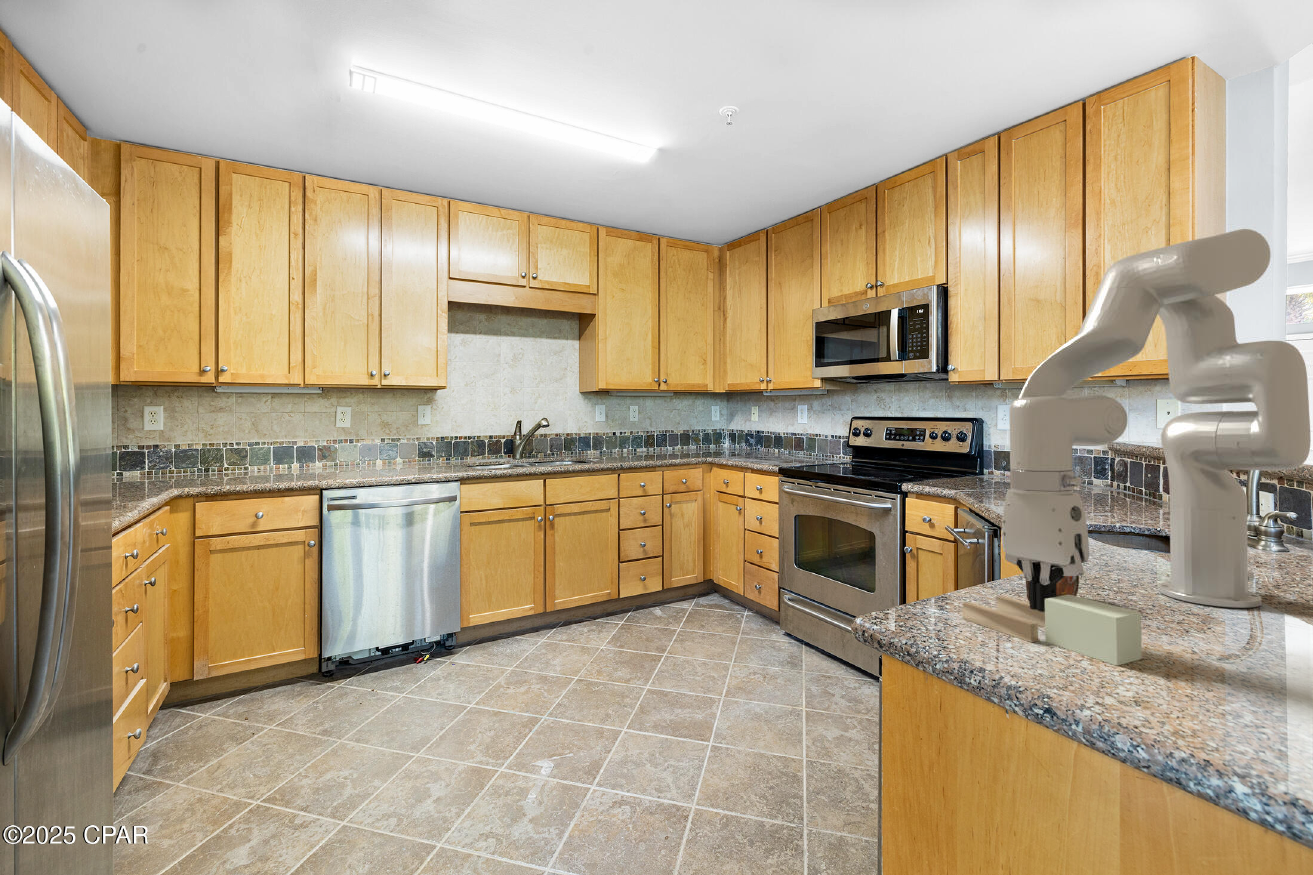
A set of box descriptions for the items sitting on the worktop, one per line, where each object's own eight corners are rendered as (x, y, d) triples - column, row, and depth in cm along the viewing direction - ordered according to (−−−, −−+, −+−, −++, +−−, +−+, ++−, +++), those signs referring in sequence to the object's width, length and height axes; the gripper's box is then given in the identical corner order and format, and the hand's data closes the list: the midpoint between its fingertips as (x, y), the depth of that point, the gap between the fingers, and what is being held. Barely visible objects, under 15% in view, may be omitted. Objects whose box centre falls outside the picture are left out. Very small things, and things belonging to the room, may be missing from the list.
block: (1069, 636, 82) (1068, 594, 82) (1141, 658, 74) (1141, 612, 74) (1045, 641, 80) (1044, 598, 80) (1116, 665, 72) (1116, 617, 72)
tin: (1043, 616, 91) (1042, 563, 91) (1021, 611, 94) (1020, 559, 94) (1081, 598, 100) (1080, 550, 100) (1060, 594, 102) (1060, 547, 102)
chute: (1003, 611, 94) (1002, 595, 94) (1073, 632, 84) (1073, 615, 84) (962, 619, 91) (962, 603, 91) (1031, 642, 80) (1030, 624, 80)
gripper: (1115, 485, 77) (1116, 621, 78) (1010, 477, 91) (1012, 593, 91) (1077, 488, 75) (1079, 629, 75) (976, 480, 89) (978, 598, 89)
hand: (1042, 609), depth 83 cm, fingers closed
